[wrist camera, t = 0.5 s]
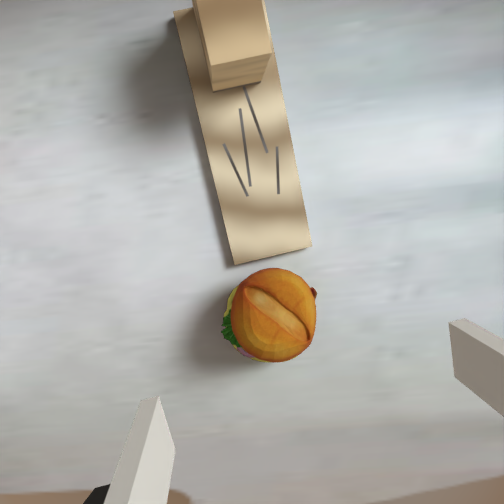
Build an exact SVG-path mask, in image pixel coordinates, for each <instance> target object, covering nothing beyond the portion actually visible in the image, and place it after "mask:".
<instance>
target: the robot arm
mask: <svg viewBox="0 0 504 504" xmlns="http://www.w3.org/2000/svg"><path fill="white" fill-rule="evenodd" d="M449 331H450V340H451V349H452V358H453V367H454V376H455V378H457V379H458V380H459V381H460V382H462V383H463V384H464V385H465V386H466V387H468V388H469V389H470V390H471V391H473V392H474V393H475V394H476V395H477V396H479V397H480V398H481V399H482V400H484V401H485V402H486V403H487V404H489V405H490V406H491V407H492V408H493V409H495V410H496V411H497V412H498V413H500V414H501V415H502V416H503V417H504V339H502V338H500V337H498V336H497V335H495V334H493V333H491V332H489V331H487V330H486V329H484V328H482V327H480V326H478V325H476V324H475V323H473V322H471V321H469V320H467V319H465V318H464V319H460V320H456V321H452V322H449ZM174 456H175V447H174V444H173V440H172V437H171V434H170V431H169V428H168V424H167V421H166V418H165V415H164V412H163V408H162V405H161V402H160V399H159V396H156V397H152V398H148V399H144V400H141V402H140V404H139V407H138V410H137V413H136V415H135V418H134V421H133V424H132V427H131V429H130V432H129V435H128V438H127V440H126V443H125V446H124V449H123V451H122V454H121V457H120V460H119V462H118V465H117V468H116V471H115V473H114V476H113V479H112V482H111V484H109V485H105V486H101V487H97V488H95V489H94V490H93V491H92V493H91V494H90V495H89V497H88V498H87V499H86V500H85V502H84V503H83V504H167V497H168V492H169V486H170V480H171V474H172V468H173V462H174Z"/></svg>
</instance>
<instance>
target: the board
mask: <svg viewBox="0 0 504 504" xmlns="http://www.w3.org/2000/svg"><path fill="white" fill-rule="evenodd" d="M262 5H263V10H264V15H265V20H266V25H267V30H268V35H269V40H270V45H271V50H272V54H271V56H270V59H269V62H268V64H267V67H266V70H265V72H264V75H263V78H262V80H261V83H257V84H252V85H247V86H243V87H238V88H234V89H229V90H224V91H220V92H215V93H213V91H212V86H211V82H210V78H209V73H208V69H207V65H206V60H205V56H204V52H203V47H202V43H201V39H200V34H199V30H198V26H197V22H196V17H195V13H194V9H193V8H188V9H183V10H178V11H173V13H174V17H175V21H176V26H177V30H178V34H179V38H180V42H181V46H182V50H183V54H184V59H185V63H186V67H187V71H188V75H189V79H190V83H191V87H192V91H193V96H194V100H195V104H196V108H197V112H198V116H199V120H200V124H201V129H202V133H203V137H204V141H205V145H206V149H207V153H208V157H209V162H210V166H211V170H212V174H213V178H214V182H215V186H216V190H217V195H218V199H219V203H220V207H221V211H222V215H223V219H224V223H225V227H226V232H227V236H228V240H229V244H230V248H231V252H232V256H233V260H234V265H237V264H241V263H245V262H249V261H254V260H258V259H262V258H266V257H270V256H274V255H278V254H283V253H287V252H291V251H295V250H299V249H303V248H307V247H311V246H312V242H311V237H310V232H309V227H308V222H307V217H306V212H305V206H304V201H303V196H302V191H301V186H300V181H299V176H298V171H297V166H296V160H295V155H294V150H293V145H292V140H291V135H290V130H289V125H288V120H287V114H286V109H285V104H284V99H283V94H282V89H281V84H280V79H279V74H278V68H277V63H276V58H275V53H274V48H273V43H272V38H271V33H270V28H269V22H268V17H267V12H266V7H265V2H264V0H262Z"/></svg>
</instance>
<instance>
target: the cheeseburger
mask: <svg viewBox="0 0 504 504" xmlns="http://www.w3.org/2000/svg"><path fill="white" fill-rule="evenodd" d="M316 295H317V292H316V290H315V289H314V288H313V287H311V288H310V287H309V286H308V284H307V283H306V282H305V281H304V280H303V279H302V278H301V277H300V276H298V275H296V274H294V273H292V272H290V271H288V270H284V269H279V268H268V269H263V270H260V271H258V272H256V273H254V274H251V275H250V276H249V277H247V278H246V279H245V280H244V281H242V282H241V283H240V284H239V285H238V286H237V287H236V288H235V289H233V291H232V293H231V294H230V296H229V298H228V302H227V310H226V311H225V313H224V318H223V324H222V326H225V327H226V328H225V329H224V330H223V331H221V333H223V335H224V338H225V339H227V340H229V341H230V342H231V344H232V345H233V346H234V348H235V349H236V350H237V351H239V352H240V353H241V354H243V355H244V356H247V357H249V358H251V359H253V360H257V361H260V362H284V361H288V360H290V359H293V358H295V357H297V356H298V355H299V354H301V353H302V352H303V351H304V350H305V349H306V348H307V347H308V346H309V345H310V344H311V342H312V338H313V335H314V331H315V324H316V305H315V298H316Z"/></svg>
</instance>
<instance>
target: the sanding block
mask: <svg viewBox="0 0 504 504" xmlns="http://www.w3.org/2000/svg"><path fill="white" fill-rule="evenodd" d="M192 3H193V9H194V13H195V17H196V22H197V26H198V30H199V34H200V39H201V43H202V47H203V52H204V56H205V60H206V65H207V69H208V73H209V78H210V82H211V86H212V91H213V93H215V92H220V91H224V90H229V89H234V88H238V87H243V86H247V85H252V84H257V83H261V80H262V78H263V75H264V72H265V70H266V67H267V64H268V62H269V59H270V56H271V54H272V50H271V45H270V40H269V35H268V30H267V25H266V20H265V15H264V10H263V5H262V0H192Z"/></svg>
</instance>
